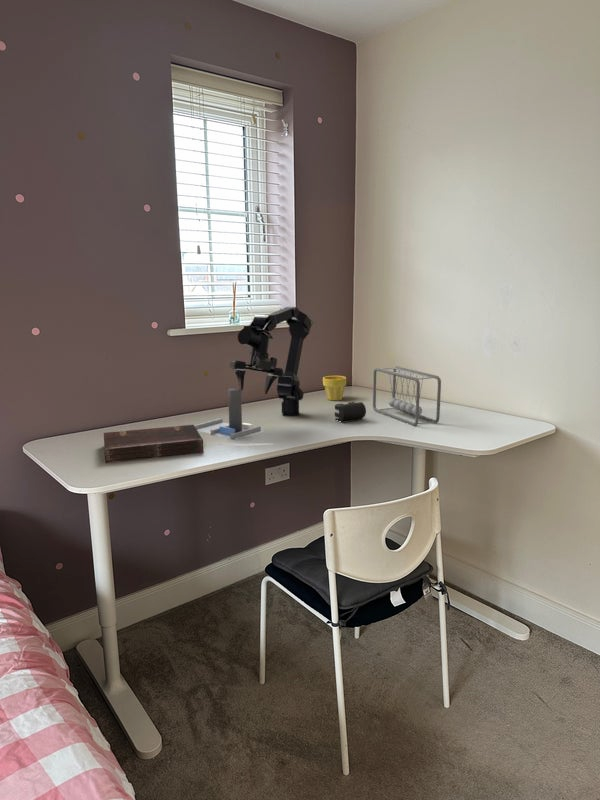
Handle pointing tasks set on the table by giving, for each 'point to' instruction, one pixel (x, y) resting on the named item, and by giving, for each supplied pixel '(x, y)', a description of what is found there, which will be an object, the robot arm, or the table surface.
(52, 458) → the table surface
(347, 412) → the black cylinder
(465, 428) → the table surface
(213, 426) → the board
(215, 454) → the table surface
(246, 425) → the ear clip
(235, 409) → the grey square pillar
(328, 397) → the plant pot
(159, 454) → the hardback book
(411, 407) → the newton's cradle
